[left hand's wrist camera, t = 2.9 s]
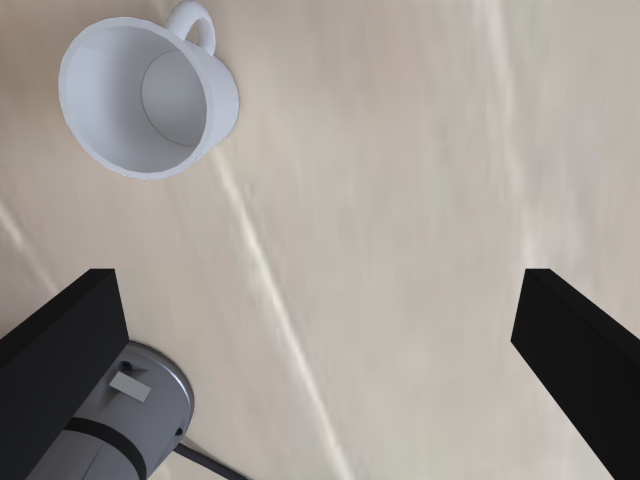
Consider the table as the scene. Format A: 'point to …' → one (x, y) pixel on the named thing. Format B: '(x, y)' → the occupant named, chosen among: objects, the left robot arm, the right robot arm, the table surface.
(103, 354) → the left robot arm
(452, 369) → the table surface
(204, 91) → the mug
